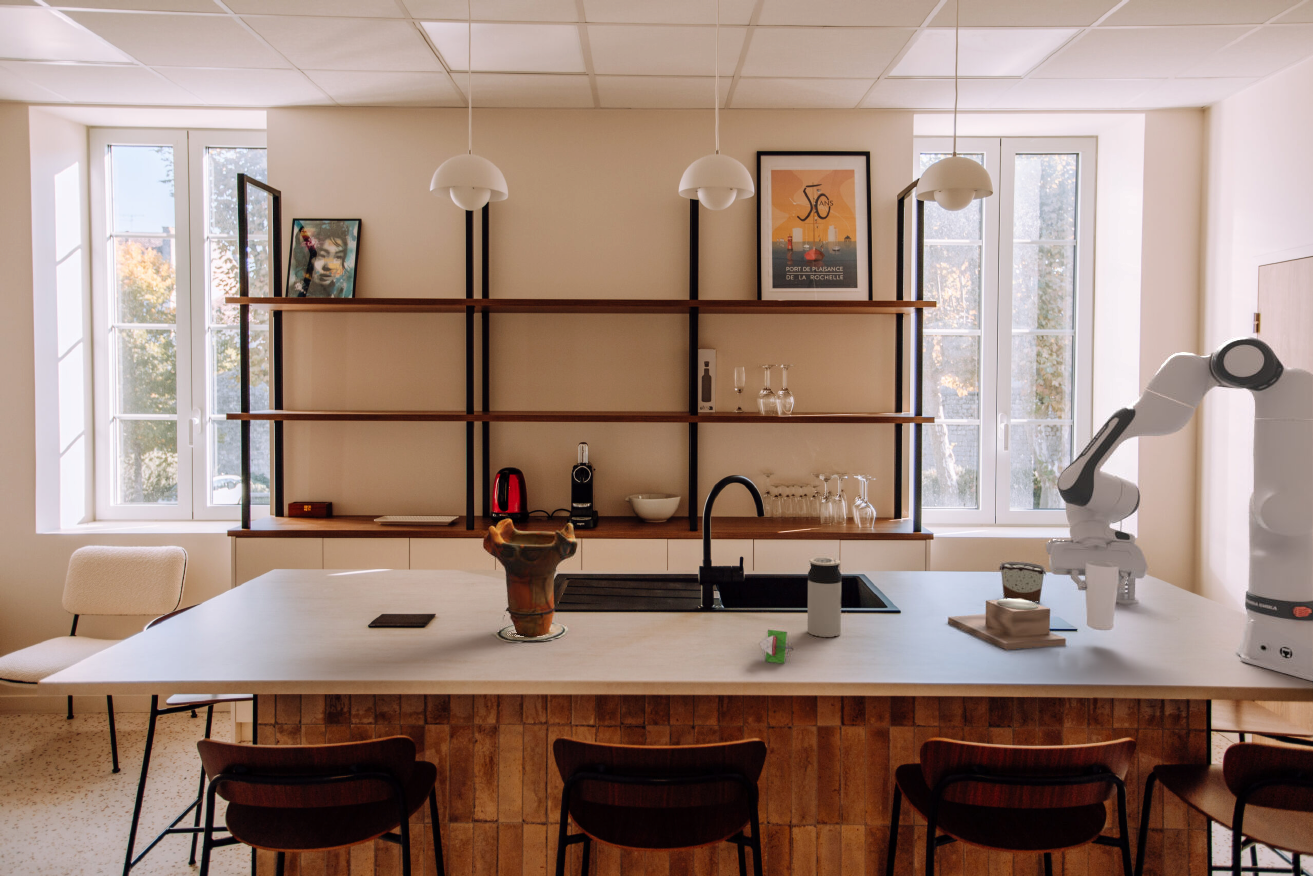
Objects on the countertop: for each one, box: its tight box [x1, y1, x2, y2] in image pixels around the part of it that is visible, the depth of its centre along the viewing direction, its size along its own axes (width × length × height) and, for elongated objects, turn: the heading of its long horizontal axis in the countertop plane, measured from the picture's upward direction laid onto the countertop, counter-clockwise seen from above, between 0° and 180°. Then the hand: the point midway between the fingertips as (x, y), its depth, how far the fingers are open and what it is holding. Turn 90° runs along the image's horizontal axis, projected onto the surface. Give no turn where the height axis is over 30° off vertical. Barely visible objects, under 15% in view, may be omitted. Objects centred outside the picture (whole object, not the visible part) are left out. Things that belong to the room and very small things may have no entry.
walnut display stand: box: [947, 598, 1067, 651], centre depth 184 cm, size 22×16×8 cm
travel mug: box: [807, 557, 842, 638], centre depth 184 cm, size 8×8×18 cm
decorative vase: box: [482, 518, 579, 644], centre depth 185 cm, size 21×23×28 cm
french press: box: [1116, 520, 1140, 604], centre depth 215 cm, size 10×12×25 cm
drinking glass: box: [1084, 561, 1119, 631], centre depth 176 cm, size 7×7×15 cm
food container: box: [998, 561, 1047, 602], centre depth 218 cm, size 12×6×10 cm, turn 58°
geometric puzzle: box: [758, 629, 794, 665], centre depth 164 cm, size 7×7×8 cm
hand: (1101, 590), depth 175 cm, fingers closed on drinking glass, 7 cm apart
